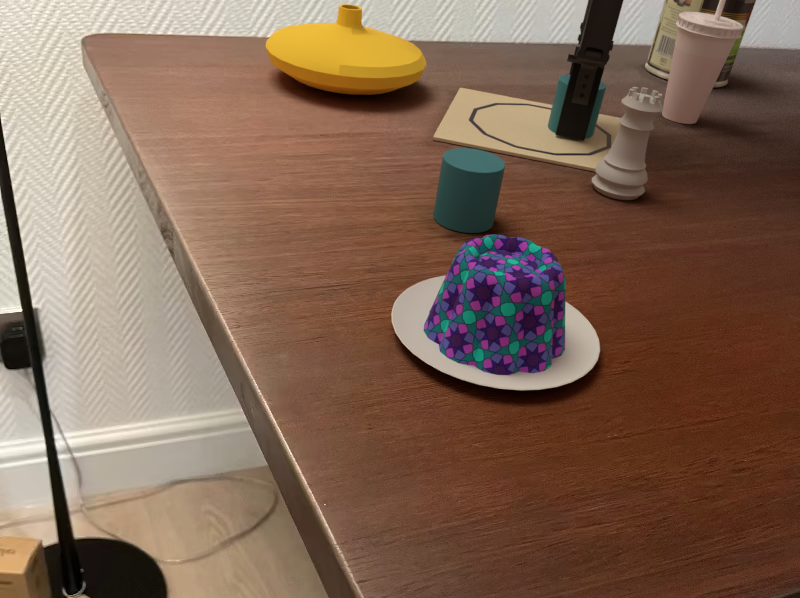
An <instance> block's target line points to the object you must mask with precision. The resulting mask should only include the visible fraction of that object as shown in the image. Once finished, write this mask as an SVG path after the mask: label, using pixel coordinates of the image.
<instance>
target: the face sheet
mask: <svg viewBox="0 0 800 598" xmlns="http://www.w3.org/2000/svg"><path fill="white" fill-rule="evenodd" d="M552 105H553V104H549V103H544V102H538V101H533V100H530V99H522V98H518V97H513V96H507V95H502V94H497V93H492V92H486V91H481V90H480V91H479V90H476V89H470V88H467V87H466V88H464V87H459V89H458V90H457V93H456V94H455V96H454V98H453V99H452V101H451V103H450V105H449V107H448V108H447V111H446V112H445V114H444V116H443V118H442V120H441V122H439V125H438V127H437V129H436V130H435V133H434V134H433V136H432V141H435V142H436V141H437V142H441V143H447V144H452V145H457V146H461V147H465V148H471V149H478V150H482V151H486V152H491V153H498V154H503V155H507V156H511V157H512V156H513V157H517V158H523V159H528V160H532V161H538V162H542V163H548V164H554V165H558V166H562V167H563V166H564V167H569V168H574V169H578V170H582V171H583V170H584V171H589V172H594V173H596V169H595V168H596V166H597V165H598V163H600V162H601V161H603V160H604V156H605V155H607V154H608V153H609V151H610V149H611V147H612V145H613V143H614V141H615V138H616V136H617V134H618V130H619V127H620V123H619V119H621V118H622V117H618V116H613V115H609V114H608V115H607V114H602V113H599V116H598V120H597V123H596V127H595V131H594V134H593V136H592V137H590V138H585V140H584V141H583V140H578V139H573V138H568V137H563V136H558V135H556V133H554V132H553V131H551V130H550V129H549V128H548V122H549V118H550V114H551V109H552Z"/></svg>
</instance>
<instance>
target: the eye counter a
mask: <svg viewBox="0 0 800 598" xmlns="http://www.w3.org/2000/svg"><path fill="white" fill-rule="evenodd" d="M505 169H506V162H505V161H504V160H503V159H502V158H501V157H500V156H498V155H497V154H494V153H493V152H490V151H487V150H482V149H476V148H471V147H455V148H451V149H448V150H446V151H444V152H443V154H442V158H441V165H440V171H439V177H438V183H437V190H436V196H435V201H434V209H433V220H435V222H436V223H438V224H439V225H440V226H441V227H444V228H446V229H448V230H451V231H454V232H459V233H464V234H480V233H484V232H488V231H489V230H491V229H492V227H494V223H495V217H496V213H497V208H498V204H499V198H500V194H501V189H502V184H503V181H504V180H503V179H504V174H505Z"/></svg>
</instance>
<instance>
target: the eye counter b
mask: <svg viewBox="0 0 800 598" xmlns="http://www.w3.org/2000/svg"><path fill="white" fill-rule="evenodd" d="M569 78H570V75H569V74H562V75H560V76H559V77H558V79H557V85H556V88H555V94H554V97H553V102H552V104H551V105H552V109H551V114H550V118H549V122H548V128H549V129H550V130H551V131H553V132H554V133H556V130H557V126H558V122H559V118H560V114H561V110H562V106H563V102H564V98H565V94H566V90H567V86H568V82H569ZM606 90H607V85H606V84H605V83H604V82H603V81H601V82H600V86H599V89H598V93H597V97H596V100H595V104H594V108H593V111H592V115H591V119H590V122H589V126H588V129H587V133H586V137H585V138H590V137H592V136H593V134H594V131H595V127H596V123H597V120H598V116H599V114H600V113H601V112H600V111H601V108H602V104H603V101H604V98H605V95H606V94H605V93H606Z"/></svg>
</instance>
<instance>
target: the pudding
mask: <svg viewBox="0 0 800 598" xmlns="http://www.w3.org/2000/svg"><path fill="white" fill-rule="evenodd" d="M448 268H449V269H448V271H447V273H446V275H440V276H436V277H430V278H428V279H424V280H422V281H419V282H417V283H415V284H413V285H411V286H409V287H408V288H406V289H405V290H404V291H403V292H402V293H400V294H399V295H398V296H397V298H396V300H395V301H394V303H393V305H392V309H391V324H392V327H393V330H394V333H395V334H396V336H397V337H398V339H399V340H400V342H401V343H402V344H403V345H404V346H405V347H406V348H407V350H409V352H411V354H413V355H414V356H416V357H417V358H418V359H420V360H421V361H422V362H424V364H425V363H426V365H429V366H431V367H433V368H434V369H436V370H437V371H440V372H442V373H444V374H446V375H449V376H451V377H453V378H456V379H459V380H461V381H465V382H468V383H471V384H475V385H478V386H483V387H488V388H489V387H490V388H494V389H501V390H512V391H513V390H514V391H540V390H546V389H552V388H558V387H561V386H564V385H568V384H571V383H573V382H575V381H577V380H580V379H581V378H582V377H584V376H586V375H587V374H588V373H589V372H590V371H591V370H593V368H594V367H595V365H596V363H597V362H598V361H599V357H600V353H601V344H600V339H599V336H598V334H597V331H596V329H595V328H594V326H593V325H592V324H591V322H590V321H589V319H587V318H586V316H584V314H583V313H581V312H580V311H579V310H578V309H577V308H576V307H574V306H573V305H572V304H570V303H568V302H567V301H566V276H565V271H564V268H563V266H562V265H561V264H560V263H559V260H558V257H557V256H556V255H555V254H554V253H553V252H552V251H551V250H550V249H548V248H547V247H543V246H539V245H537V244H536V243H535V242H533V241H532V240H530V239H527V238H524V237H519V236H513V237H511V236H510V237H509V236H505V235H503V234H496V233H494V234H493V233H492V234H486V235H484V236H483V237H474V238H471V239H468V240H466V241H464V243H463V244H462V245H461V246H460V247H459V249H458V250H457V251H456V253H455V256H454V258H453V260H452V262H451V263H450V266H449V267H448Z"/></svg>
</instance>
